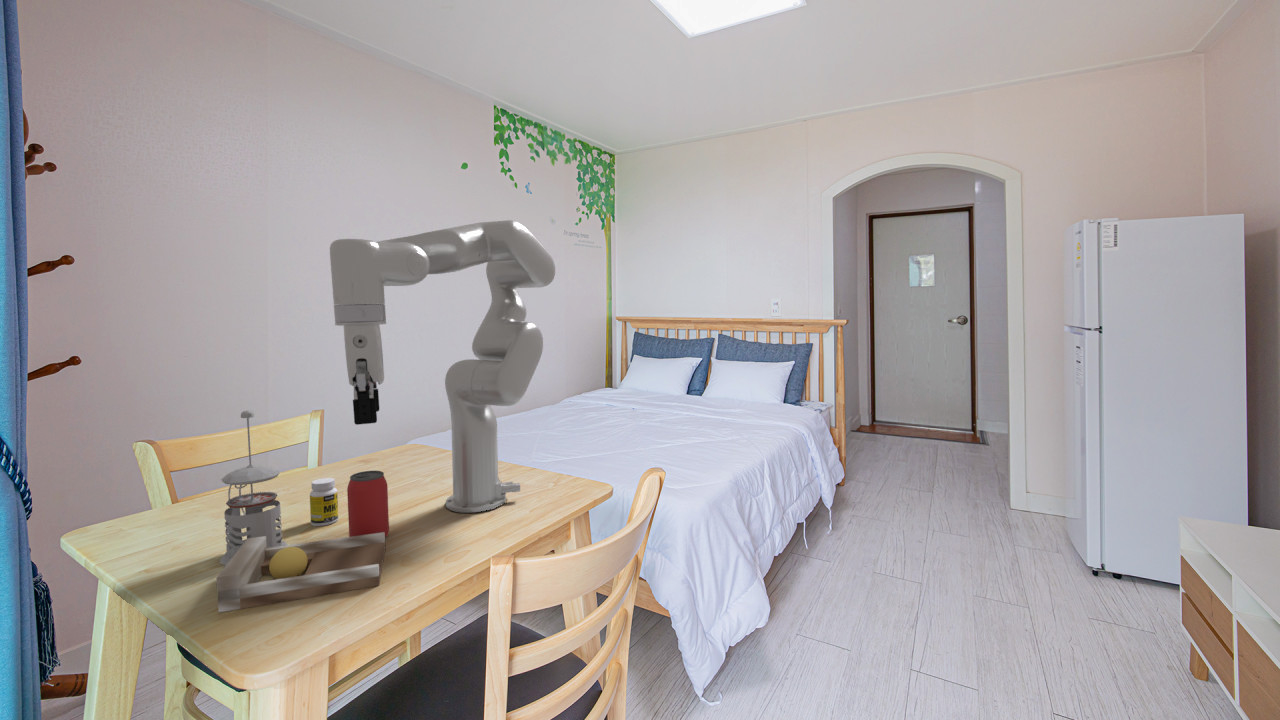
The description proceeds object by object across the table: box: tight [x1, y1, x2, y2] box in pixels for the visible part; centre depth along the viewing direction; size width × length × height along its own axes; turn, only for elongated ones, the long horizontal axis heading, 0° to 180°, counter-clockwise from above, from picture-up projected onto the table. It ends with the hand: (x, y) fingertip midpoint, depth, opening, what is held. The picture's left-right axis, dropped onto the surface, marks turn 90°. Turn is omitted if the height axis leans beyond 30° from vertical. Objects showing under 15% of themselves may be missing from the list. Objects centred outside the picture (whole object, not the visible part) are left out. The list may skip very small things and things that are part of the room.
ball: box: [269, 547, 308, 580], centre depth 83 cm, size 5×5×5 cm
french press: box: [219, 409, 289, 566], centre depth 92 cm, size 10×12×25 cm
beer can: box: [346, 470, 390, 538], centre depth 98 cm, size 7×7×12 cm
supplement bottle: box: [309, 477, 339, 527], centre depth 106 cm, size 5×5×8 cm
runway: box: [216, 532, 386, 613], centre depth 84 cm, size 20×14×5 cm
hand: (367, 417), depth 90 cm, fingers open, 9 cm apart
